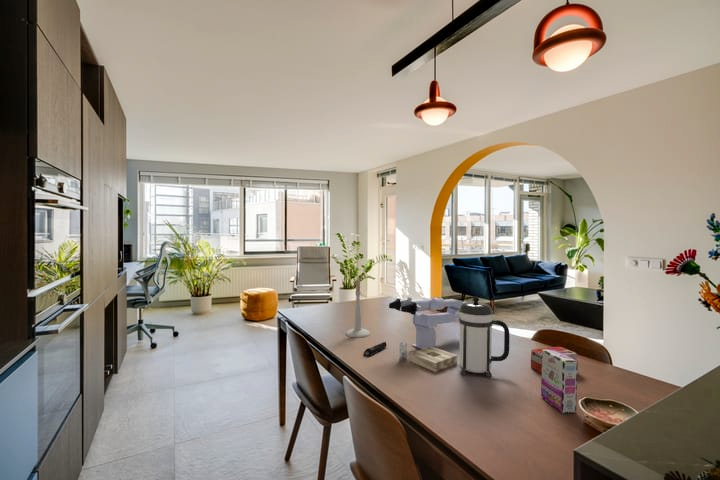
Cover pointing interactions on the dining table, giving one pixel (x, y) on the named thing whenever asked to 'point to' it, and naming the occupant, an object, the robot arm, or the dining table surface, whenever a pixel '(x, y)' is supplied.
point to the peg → (403, 351)
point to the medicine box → (537, 356)
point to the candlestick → (357, 318)
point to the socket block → (433, 358)
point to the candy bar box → (559, 380)
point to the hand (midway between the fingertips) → (395, 307)
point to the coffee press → (478, 337)
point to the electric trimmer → (374, 349)
